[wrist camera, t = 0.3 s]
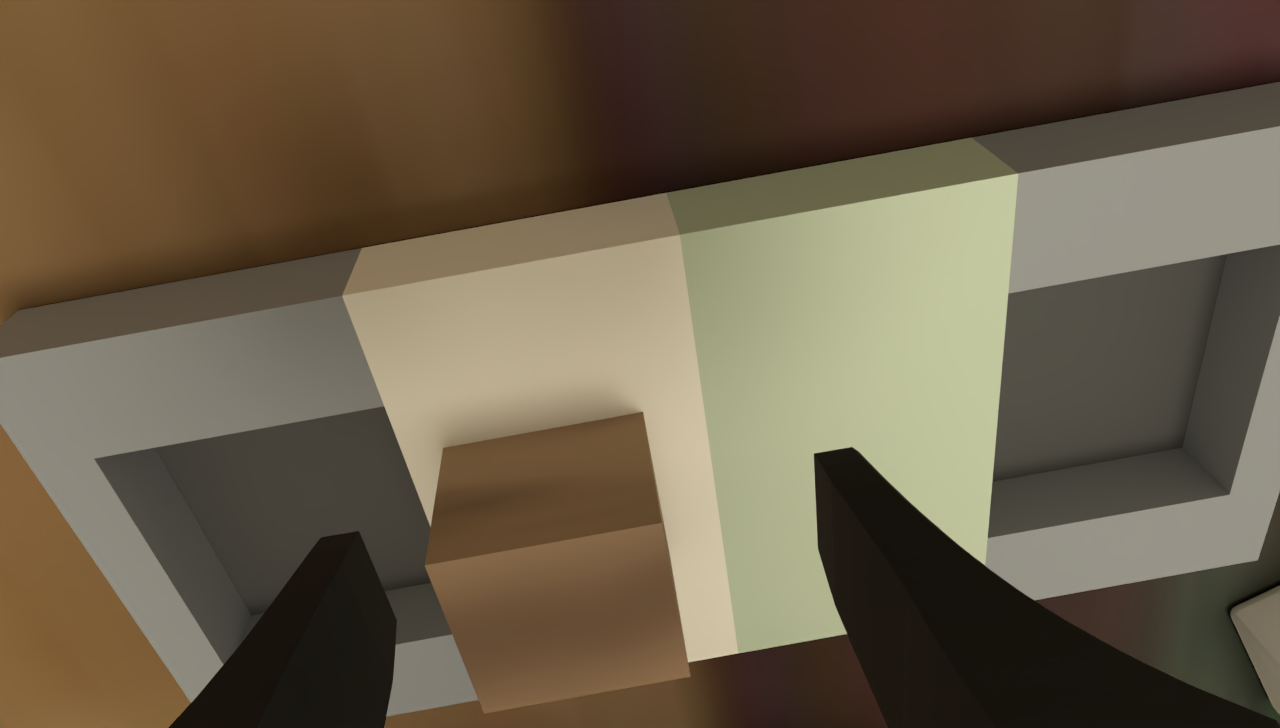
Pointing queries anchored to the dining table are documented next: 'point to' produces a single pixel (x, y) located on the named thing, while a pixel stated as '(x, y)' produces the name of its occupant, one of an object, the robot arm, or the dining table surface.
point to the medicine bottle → (1262, 638)
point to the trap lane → (707, 381)
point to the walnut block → (556, 564)
